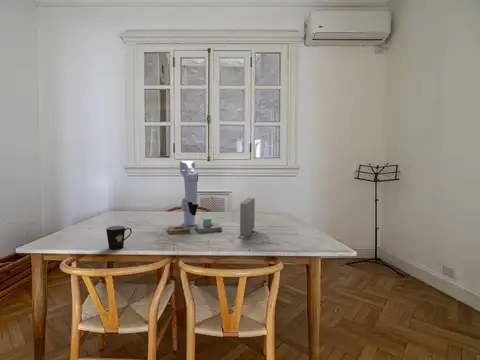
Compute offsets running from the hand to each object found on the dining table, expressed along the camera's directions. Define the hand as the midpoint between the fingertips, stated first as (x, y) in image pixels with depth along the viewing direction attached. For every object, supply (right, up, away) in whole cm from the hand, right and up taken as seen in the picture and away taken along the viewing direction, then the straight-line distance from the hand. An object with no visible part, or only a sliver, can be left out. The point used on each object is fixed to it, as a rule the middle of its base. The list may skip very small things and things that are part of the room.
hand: (192, 214), depth 186 cm
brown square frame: (-8, -10, -5) cm, 13 cm away
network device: (+34, -11, -13) cm, 37 cm away
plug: (+9, -10, 0) cm, 13 cm away
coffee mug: (-29, -12, -40) cm, 51 cm away
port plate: (+10, -9, 0) cm, 13 cm away
